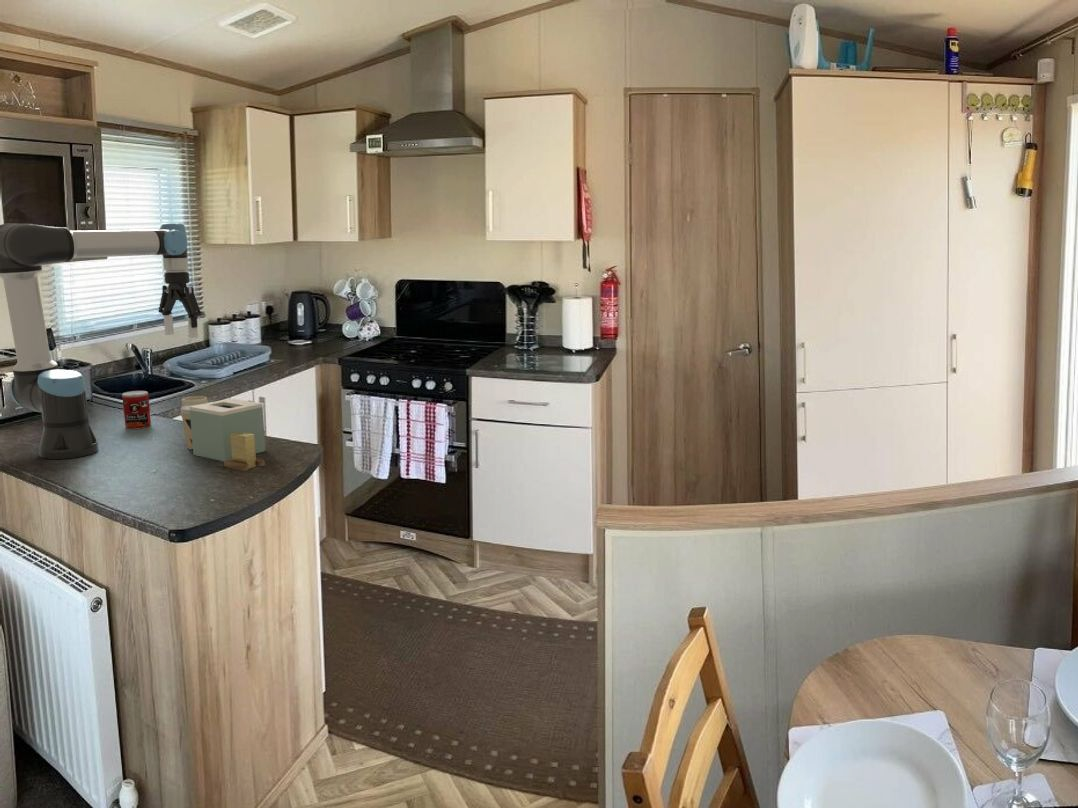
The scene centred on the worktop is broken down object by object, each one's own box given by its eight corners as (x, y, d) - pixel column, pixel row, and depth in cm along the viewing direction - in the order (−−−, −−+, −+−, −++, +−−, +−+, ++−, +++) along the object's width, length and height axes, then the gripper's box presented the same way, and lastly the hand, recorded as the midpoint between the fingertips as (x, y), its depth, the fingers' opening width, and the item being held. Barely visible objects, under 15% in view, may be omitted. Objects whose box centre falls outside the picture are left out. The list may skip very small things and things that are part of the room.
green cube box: (225, 461, 253) (221, 412, 250) (193, 454, 260) (189, 406, 258) (265, 450, 264) (262, 403, 262) (233, 444, 272) (230, 398, 269)
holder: (243, 471, 244) (243, 465, 243) (224, 466, 248) (223, 461, 248) (264, 465, 249) (264, 459, 249) (245, 460, 254) (244, 455, 253)
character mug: (192, 445, 270) (189, 401, 268) (174, 442, 273) (171, 400, 271) (219, 437, 280) (216, 396, 278) (201, 436, 283) (199, 394, 281)
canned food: (123, 429, 291) (120, 396, 289) (127, 424, 299) (124, 391, 296) (149, 428, 293) (146, 394, 291) (152, 422, 301) (149, 390, 298)
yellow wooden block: (247, 469, 246) (245, 436, 244) (232, 465, 249) (230, 433, 247) (256, 466, 248) (254, 434, 246) (241, 463, 251) (239, 431, 250)
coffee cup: (185, 452, 264) (182, 411, 261) (182, 444, 272) (179, 405, 269) (219, 448, 268) (216, 408, 265) (215, 441, 276) (212, 402, 273)
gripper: (209, 272, 294) (214, 337, 298) (164, 269, 308) (169, 332, 312) (188, 273, 288) (193, 340, 292) (144, 270, 302) (149, 334, 306)
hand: (181, 336), depth 302 cm, fingers open, 13 cm apart
